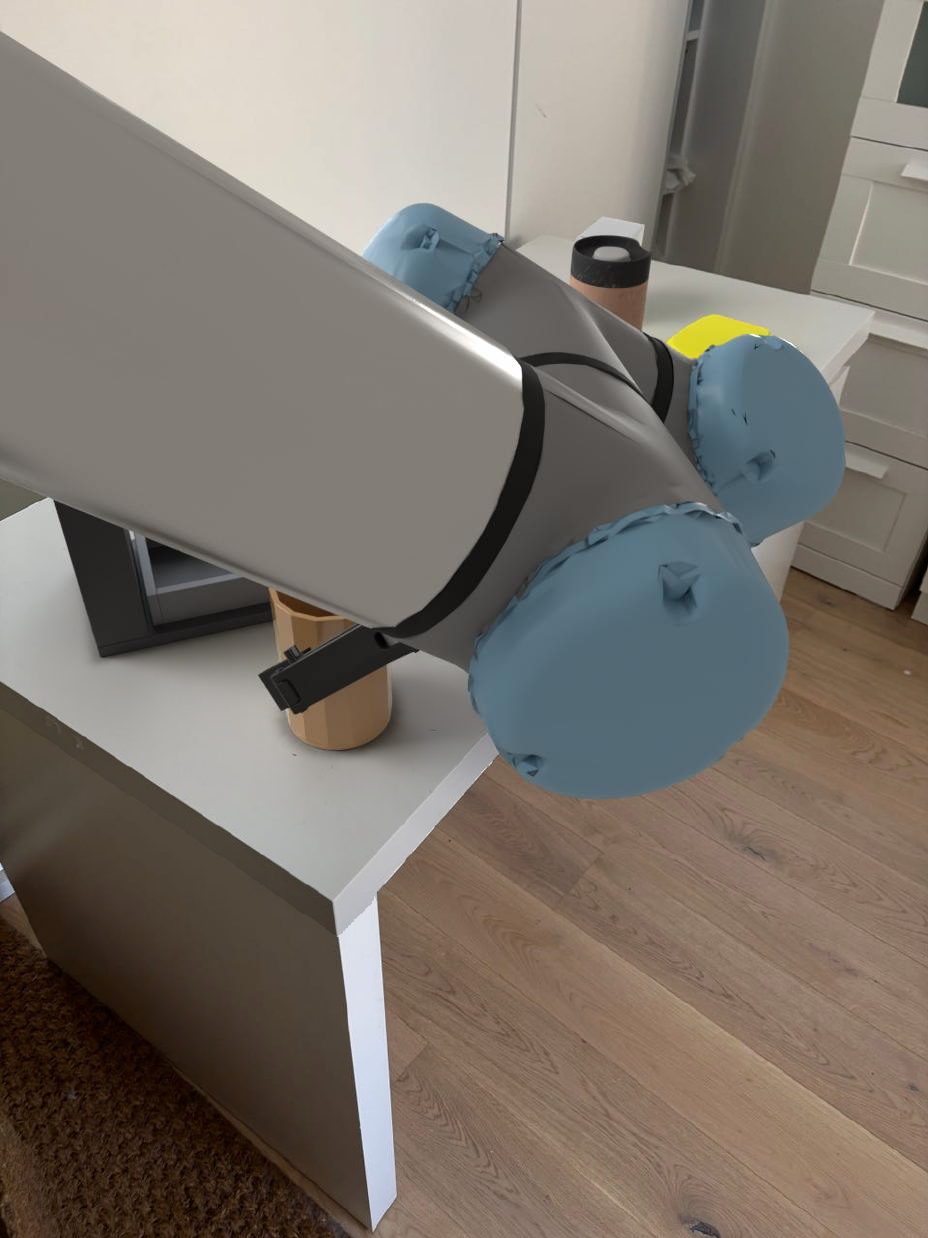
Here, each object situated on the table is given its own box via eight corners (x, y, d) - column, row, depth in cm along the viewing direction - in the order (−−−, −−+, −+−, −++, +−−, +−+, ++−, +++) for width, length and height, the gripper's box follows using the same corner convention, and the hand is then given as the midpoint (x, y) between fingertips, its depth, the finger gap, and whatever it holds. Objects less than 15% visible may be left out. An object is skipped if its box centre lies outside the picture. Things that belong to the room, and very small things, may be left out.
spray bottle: (778, 354, 120) (683, 430, 106) (699, 330, 125) (598, 400, 111) (783, 331, 118) (687, 406, 104) (703, 308, 124) (601, 376, 109)
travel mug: (545, 446, 102) (561, 254, 89) (567, 414, 107) (585, 229, 94) (615, 461, 100) (642, 267, 87) (634, 428, 105) (661, 241, 92)
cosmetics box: (611, 328, 126) (621, 246, 119) (565, 318, 128) (572, 237, 121) (635, 300, 133) (646, 222, 126) (591, 292, 135) (600, 214, 128)
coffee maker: (301, 614, 80) (269, 333, 64) (99, 657, 75) (13, 366, 60) (266, 523, 90) (231, 262, 74) (86, 557, 85) (9, 285, 70)
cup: (301, 762, 67) (284, 631, 60) (277, 689, 73) (258, 561, 65) (405, 735, 69) (401, 606, 62) (374, 666, 75) (367, 539, 67)
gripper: (412, 743, 41) (235, 791, 58) (709, 505, 56) (498, 599, 73) (317, 593, 40) (165, 686, 57) (644, 391, 55) (446, 513, 72)
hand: (351, 637), depth 65 cm, fingers open, 13 cm apart
